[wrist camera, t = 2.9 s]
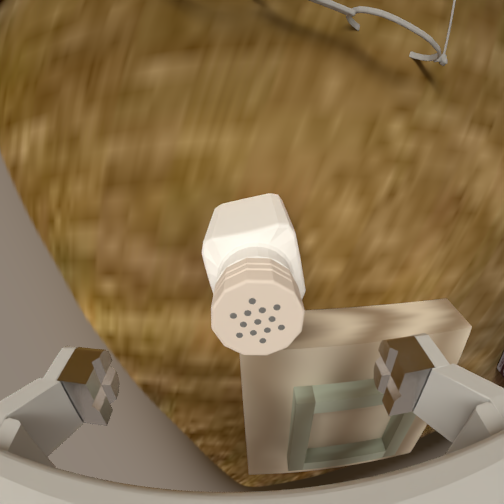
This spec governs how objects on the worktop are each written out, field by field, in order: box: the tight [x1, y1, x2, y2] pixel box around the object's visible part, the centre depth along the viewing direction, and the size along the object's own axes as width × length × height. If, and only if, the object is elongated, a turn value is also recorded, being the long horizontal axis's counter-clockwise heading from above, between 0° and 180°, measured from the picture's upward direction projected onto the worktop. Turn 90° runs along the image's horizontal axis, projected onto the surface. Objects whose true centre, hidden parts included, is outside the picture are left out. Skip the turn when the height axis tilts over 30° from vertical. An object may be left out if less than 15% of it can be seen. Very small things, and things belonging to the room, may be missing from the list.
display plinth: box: [240, 298, 472, 474], centre depth 22 cm, size 16×16×6 cm
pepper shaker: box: [202, 193, 306, 355], centre depth 15 cm, size 4×4×10 cm
